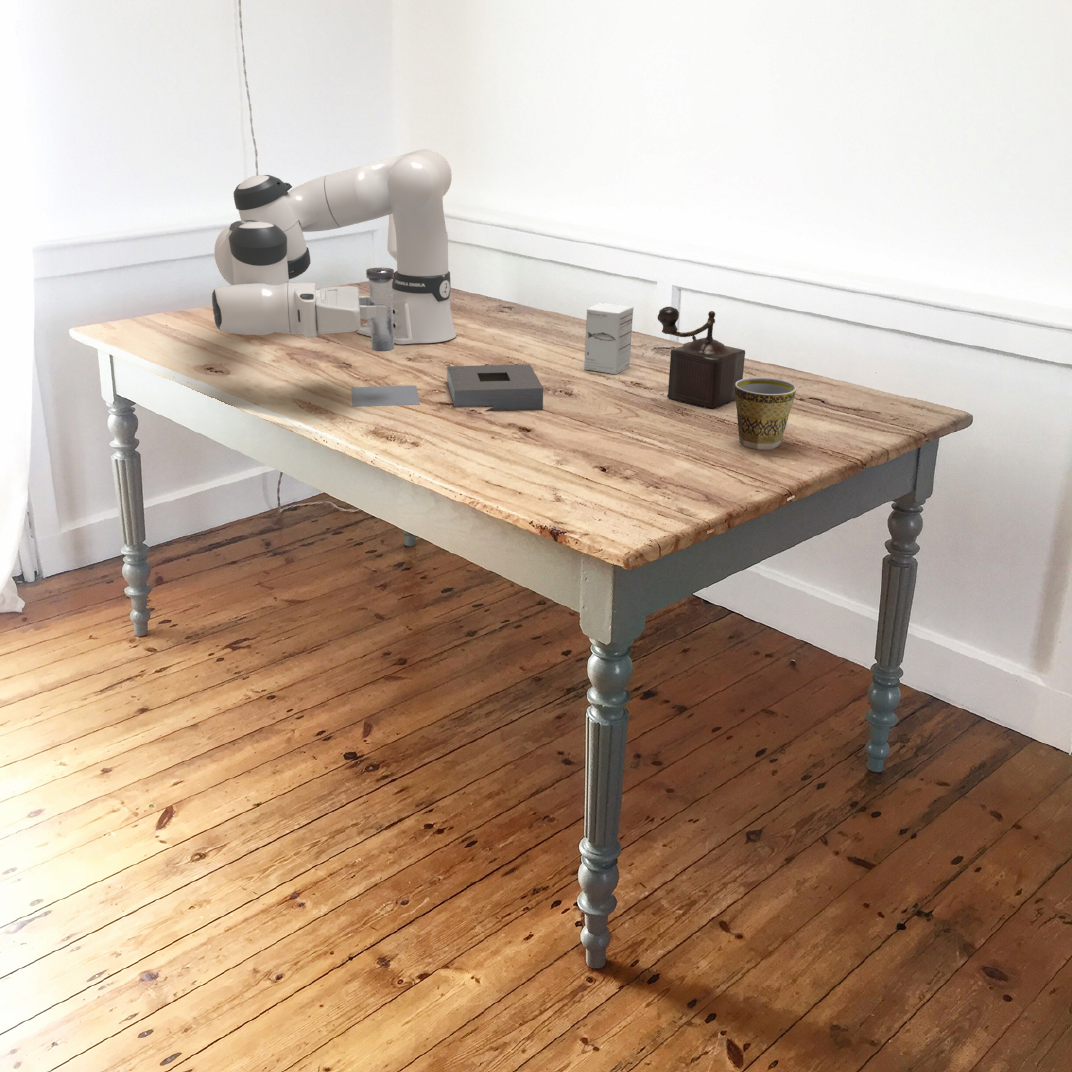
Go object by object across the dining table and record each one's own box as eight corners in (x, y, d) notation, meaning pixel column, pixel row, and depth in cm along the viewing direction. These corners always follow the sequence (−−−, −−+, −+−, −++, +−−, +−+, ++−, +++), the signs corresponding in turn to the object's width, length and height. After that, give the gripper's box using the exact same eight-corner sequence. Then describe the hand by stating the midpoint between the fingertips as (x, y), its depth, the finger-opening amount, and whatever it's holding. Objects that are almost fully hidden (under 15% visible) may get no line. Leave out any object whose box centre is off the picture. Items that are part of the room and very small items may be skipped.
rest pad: (352, 411, 205) (352, 406, 204) (352, 392, 215) (351, 387, 215) (420, 409, 206) (420, 404, 206) (416, 390, 217) (416, 385, 217)
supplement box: (582, 370, 232) (585, 308, 227) (598, 362, 238) (600, 301, 233) (616, 375, 229) (619, 312, 224) (631, 367, 235) (634, 305, 230)
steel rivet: (363, 349, 206) (360, 270, 200) (380, 344, 210) (378, 266, 204) (384, 353, 204) (382, 273, 198) (401, 347, 207) (399, 269, 202)
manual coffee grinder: (693, 386, 223) (700, 293, 216) (742, 397, 217) (751, 303, 210) (647, 403, 212) (653, 307, 205) (697, 416, 206) (705, 317, 199)
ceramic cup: (797, 452, 189) (804, 394, 185) (738, 453, 188) (743, 394, 184) (774, 427, 201) (780, 372, 197) (718, 428, 200) (723, 372, 196)
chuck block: (454, 412, 206) (454, 390, 204) (447, 386, 220) (446, 366, 218) (542, 409, 208) (543, 388, 206) (529, 384, 222) (530, 364, 221)
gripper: (309, 312, 212) (385, 311, 214) (306, 340, 194) (388, 338, 196) (307, 278, 210) (383, 277, 212) (303, 302, 191) (387, 301, 193)
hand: (386, 306), depth 204 cm, fingers closed on steel rivet, 4 cm apart
